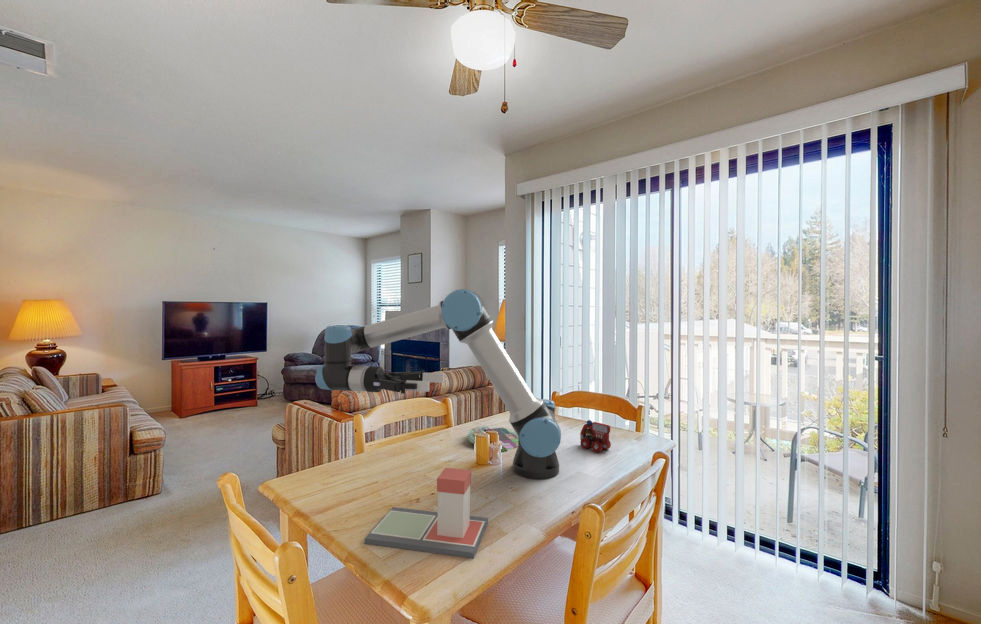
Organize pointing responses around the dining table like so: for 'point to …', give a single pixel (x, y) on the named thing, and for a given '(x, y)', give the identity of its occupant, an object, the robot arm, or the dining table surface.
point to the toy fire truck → (595, 436)
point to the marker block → (453, 502)
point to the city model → (505, 436)
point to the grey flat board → (424, 533)
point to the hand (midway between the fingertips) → (436, 382)
